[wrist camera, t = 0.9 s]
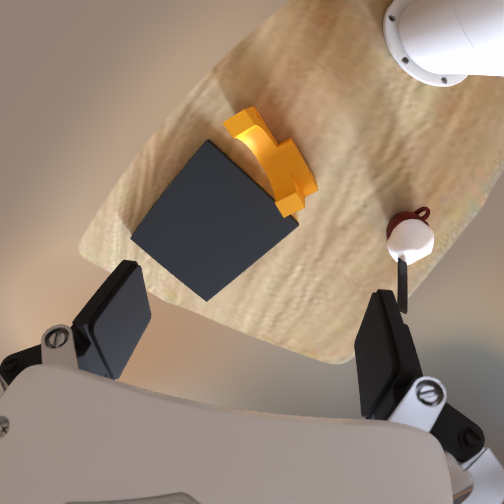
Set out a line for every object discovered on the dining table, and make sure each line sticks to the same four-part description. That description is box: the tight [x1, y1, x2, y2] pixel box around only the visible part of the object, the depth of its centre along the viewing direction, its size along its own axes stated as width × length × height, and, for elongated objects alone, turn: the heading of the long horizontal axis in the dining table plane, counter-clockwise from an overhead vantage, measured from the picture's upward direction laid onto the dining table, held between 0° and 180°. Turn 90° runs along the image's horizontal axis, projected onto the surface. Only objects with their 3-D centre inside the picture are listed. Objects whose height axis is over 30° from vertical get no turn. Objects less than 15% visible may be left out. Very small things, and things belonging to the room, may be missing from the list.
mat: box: [130, 139, 299, 302], centre depth 42 cm, size 20×16×1 cm
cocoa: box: [386, 207, 434, 314], centre depth 32 cm, size 10×6×12 cm, turn 134°
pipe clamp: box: [223, 106, 318, 218], centre depth 32 cm, size 12×4×6 cm, turn 33°
